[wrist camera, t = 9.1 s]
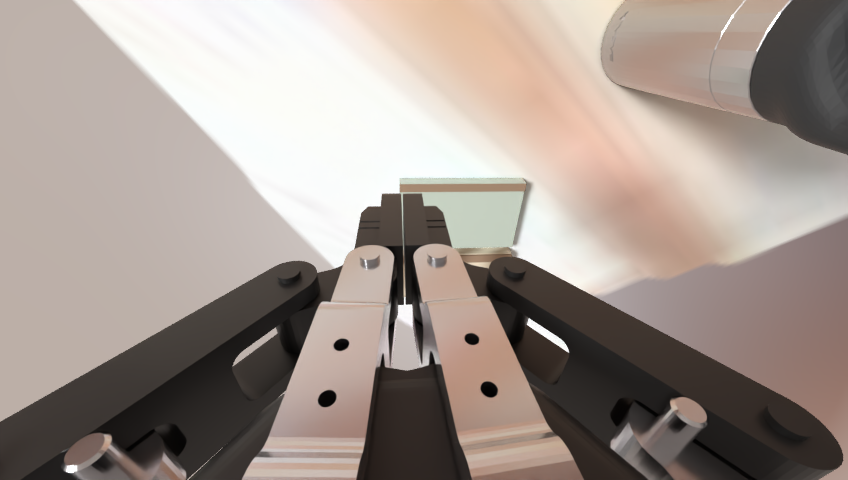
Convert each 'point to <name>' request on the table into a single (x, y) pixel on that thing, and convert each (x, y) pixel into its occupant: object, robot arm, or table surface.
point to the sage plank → (473, 207)
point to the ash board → (477, 256)
